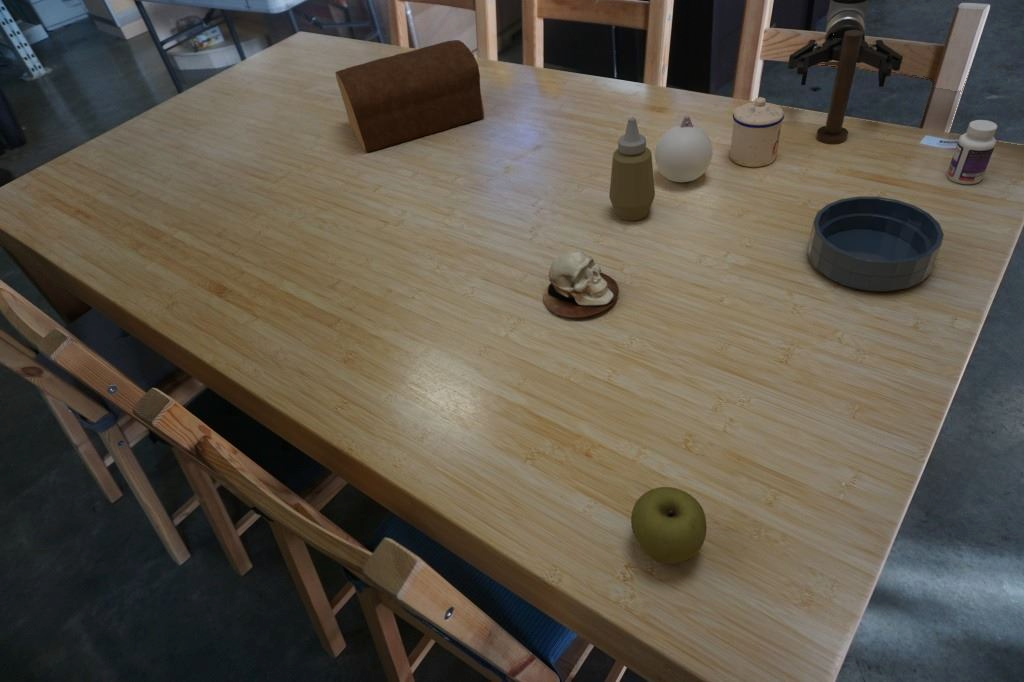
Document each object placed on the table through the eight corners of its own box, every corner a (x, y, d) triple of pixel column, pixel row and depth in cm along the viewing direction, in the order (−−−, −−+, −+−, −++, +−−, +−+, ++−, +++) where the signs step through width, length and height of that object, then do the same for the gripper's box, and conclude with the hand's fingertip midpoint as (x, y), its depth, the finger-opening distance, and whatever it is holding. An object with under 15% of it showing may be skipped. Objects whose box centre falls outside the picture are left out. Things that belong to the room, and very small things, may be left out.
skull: (638, 280, 106) (612, 264, 97) (608, 338, 107) (580, 327, 99) (578, 253, 112) (549, 236, 104) (551, 308, 114) (520, 296, 105)
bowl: (958, 269, 100) (971, 236, 96) (865, 309, 97) (875, 277, 93) (868, 216, 113) (877, 185, 108) (783, 250, 109) (789, 219, 105)
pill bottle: (988, 176, 116) (1009, 124, 110) (970, 188, 115) (990, 135, 108) (957, 166, 120) (976, 114, 113) (939, 177, 118) (957, 125, 112)
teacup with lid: (782, 166, 127) (792, 107, 119) (733, 170, 128) (740, 112, 120) (767, 136, 136) (776, 80, 128) (721, 141, 137) (727, 85, 129)
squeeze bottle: (608, 202, 125) (605, 110, 113) (651, 198, 125) (653, 105, 112) (611, 227, 120) (609, 132, 107) (657, 223, 119) (660, 127, 107)
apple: (680, 591, 70) (683, 556, 65) (616, 548, 74) (615, 512, 70) (717, 539, 74) (723, 503, 69) (654, 501, 78) (656, 464, 73)
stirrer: (853, 138, 131) (878, 33, 118) (830, 147, 130) (853, 41, 117) (832, 128, 135) (854, 24, 122) (809, 136, 134) (829, 32, 120)
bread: (350, 127, 165) (330, 60, 154) (463, 94, 170) (452, 28, 159) (366, 156, 152) (345, 87, 141) (488, 120, 158) (477, 51, 147)
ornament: (692, 159, 133) (696, 101, 125) (720, 182, 126) (725, 122, 118) (645, 173, 132) (646, 115, 123) (670, 197, 124) (673, 137, 116)
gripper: (906, 55, 139) (911, 100, 125) (778, 54, 147) (770, 96, 133) (916, 17, 134) (923, 59, 120) (784, 18, 142) (775, 58, 128)
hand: (842, 79), depth 127 cm, fingers open, 13 cm apart
